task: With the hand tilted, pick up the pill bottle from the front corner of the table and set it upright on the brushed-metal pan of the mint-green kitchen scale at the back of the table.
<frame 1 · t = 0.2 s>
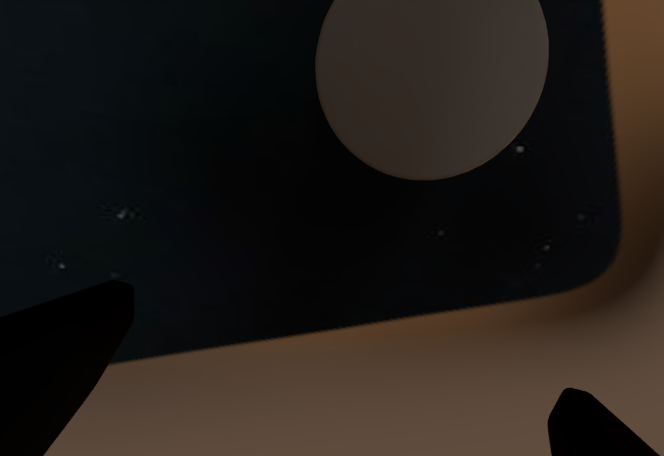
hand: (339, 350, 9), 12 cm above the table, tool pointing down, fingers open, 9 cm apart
pill bottle: (412, 61, 18), on the table
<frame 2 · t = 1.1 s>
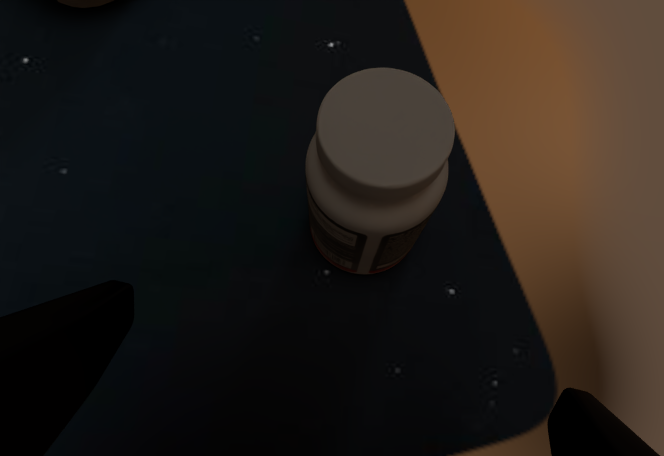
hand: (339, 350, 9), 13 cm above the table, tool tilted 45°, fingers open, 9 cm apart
pill bottle: (361, 226, 24), on the table
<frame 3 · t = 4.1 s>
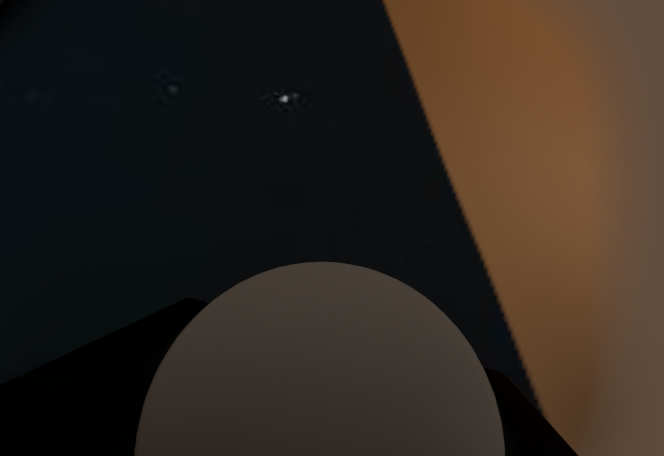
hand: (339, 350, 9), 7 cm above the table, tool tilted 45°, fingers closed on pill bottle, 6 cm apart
pill bottle: (322, 408, 15), on the table, touching gripper
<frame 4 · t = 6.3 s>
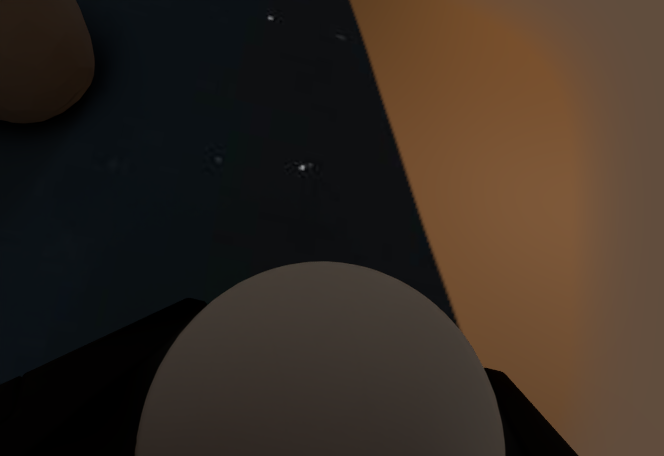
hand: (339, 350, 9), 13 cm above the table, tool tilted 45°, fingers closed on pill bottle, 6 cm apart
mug: (19, 65, 27), on the table
pill bottle: (322, 407, 15), point 6 cm above the table, touching gripper
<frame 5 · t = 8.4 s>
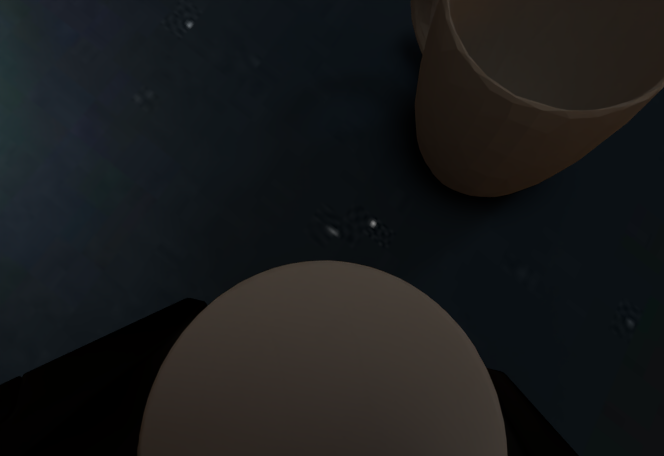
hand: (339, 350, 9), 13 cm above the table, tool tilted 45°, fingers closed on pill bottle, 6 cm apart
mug: (457, 123, 27), on the table
pill bottle: (323, 407, 15), point 7 cm above the table, touching gripper
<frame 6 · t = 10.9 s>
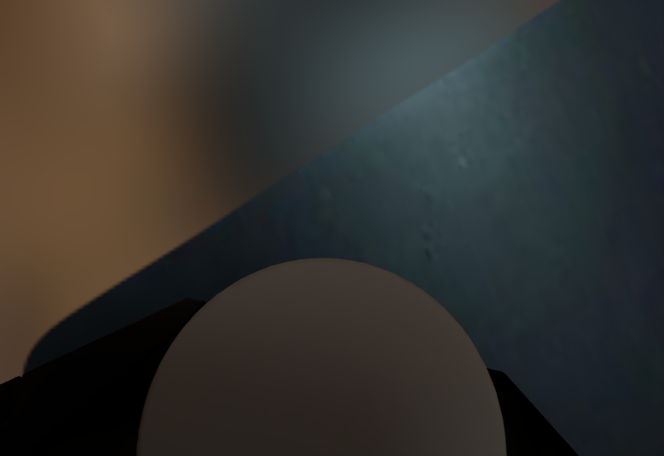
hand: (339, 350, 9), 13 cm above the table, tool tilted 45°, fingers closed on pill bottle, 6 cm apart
pill bottle: (322, 406, 15), point 6 cm above the table, touching gripper
when the fingers open (9 cm above the table, at t = 12.9 s): pill bottle stays where it is, resting on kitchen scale.
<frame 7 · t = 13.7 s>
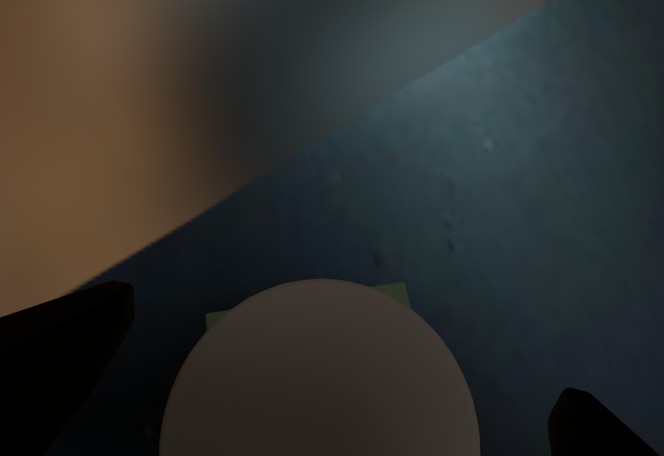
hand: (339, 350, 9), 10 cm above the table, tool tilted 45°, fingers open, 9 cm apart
pill bottle: (322, 407, 16), point 3 cm above the table, touching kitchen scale
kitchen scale: (322, 402, 18), on the table
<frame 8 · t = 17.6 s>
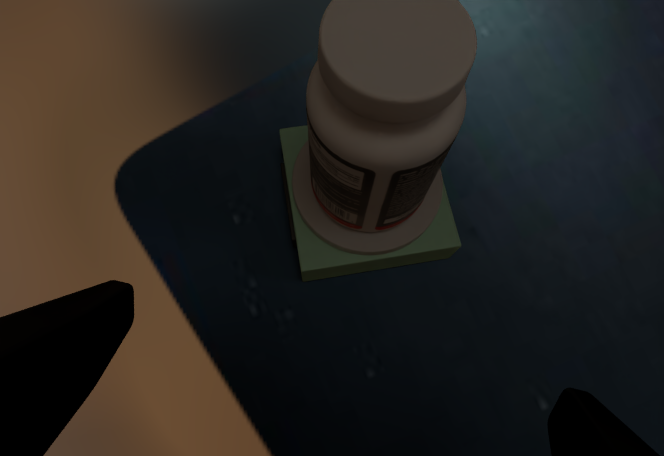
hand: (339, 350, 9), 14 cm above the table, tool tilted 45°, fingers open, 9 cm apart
pill bottle: (366, 183, 23), point 3 cm above the table, touching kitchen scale
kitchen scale: (362, 201, 25), on the table
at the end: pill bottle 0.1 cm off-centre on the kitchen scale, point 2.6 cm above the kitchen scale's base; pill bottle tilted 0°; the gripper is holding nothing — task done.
